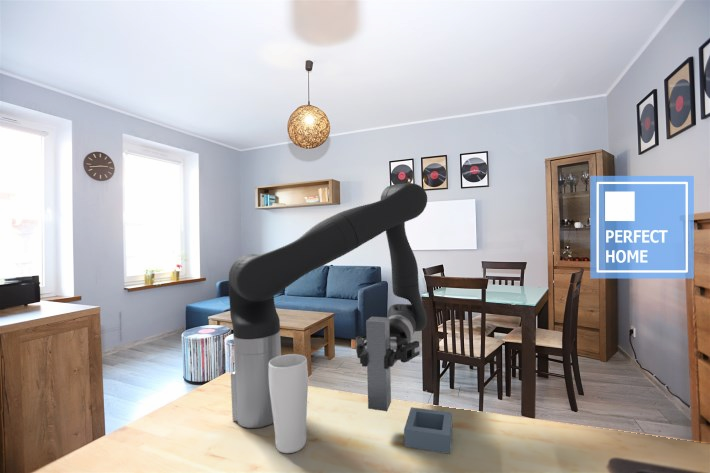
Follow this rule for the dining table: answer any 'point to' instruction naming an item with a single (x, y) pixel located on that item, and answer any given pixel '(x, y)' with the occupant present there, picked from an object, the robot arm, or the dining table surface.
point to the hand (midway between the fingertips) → (374, 362)
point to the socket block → (428, 430)
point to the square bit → (378, 363)
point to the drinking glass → (289, 400)
